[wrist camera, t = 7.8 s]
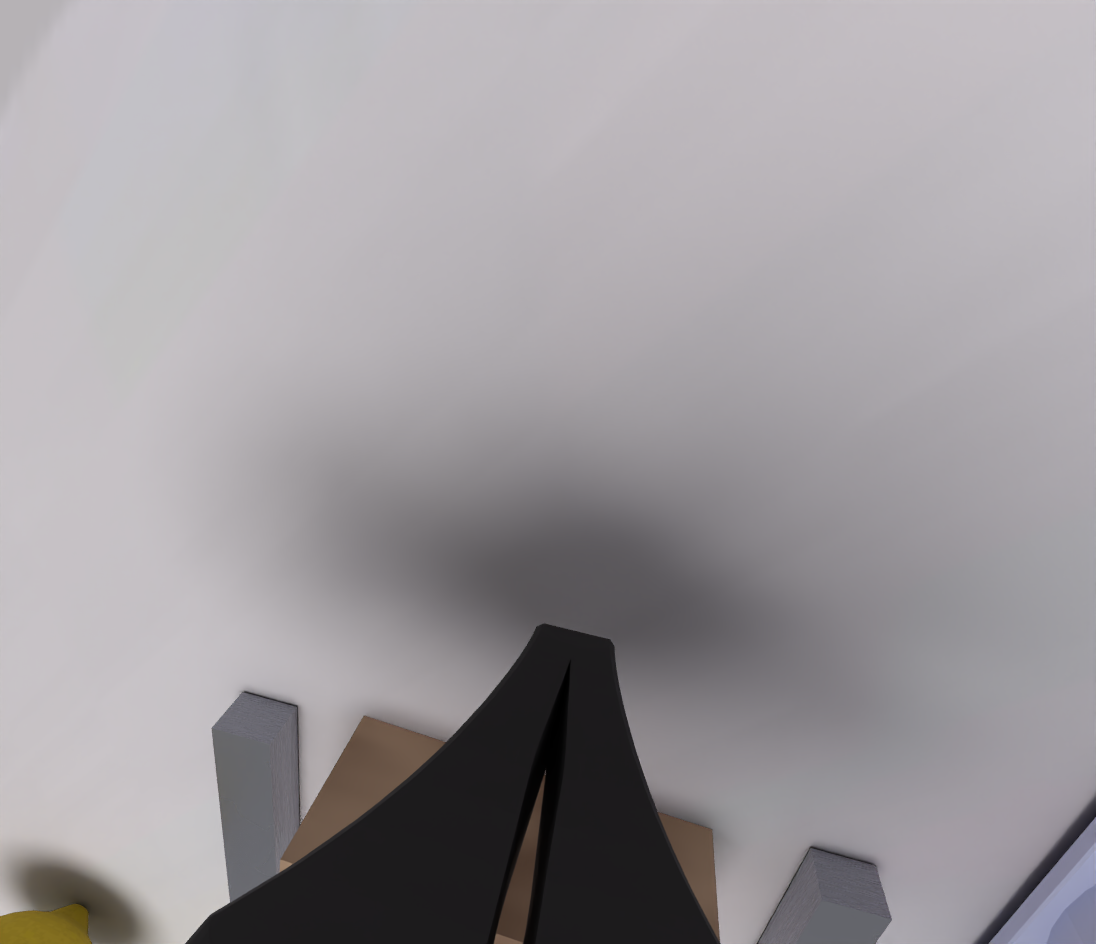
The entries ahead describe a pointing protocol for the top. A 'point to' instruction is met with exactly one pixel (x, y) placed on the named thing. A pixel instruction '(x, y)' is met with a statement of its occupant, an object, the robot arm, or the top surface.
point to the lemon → (46, 926)
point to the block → (396, 753)
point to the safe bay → (273, 819)
